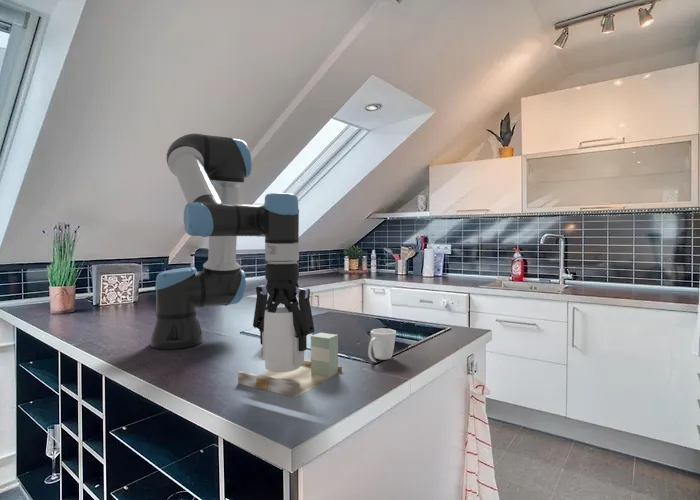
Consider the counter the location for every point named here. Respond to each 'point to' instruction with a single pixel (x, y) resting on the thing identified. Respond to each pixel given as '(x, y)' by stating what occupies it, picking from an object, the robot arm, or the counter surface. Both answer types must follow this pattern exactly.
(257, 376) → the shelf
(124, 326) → the counter surface
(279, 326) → the cup
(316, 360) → the tea carton
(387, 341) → the cup
